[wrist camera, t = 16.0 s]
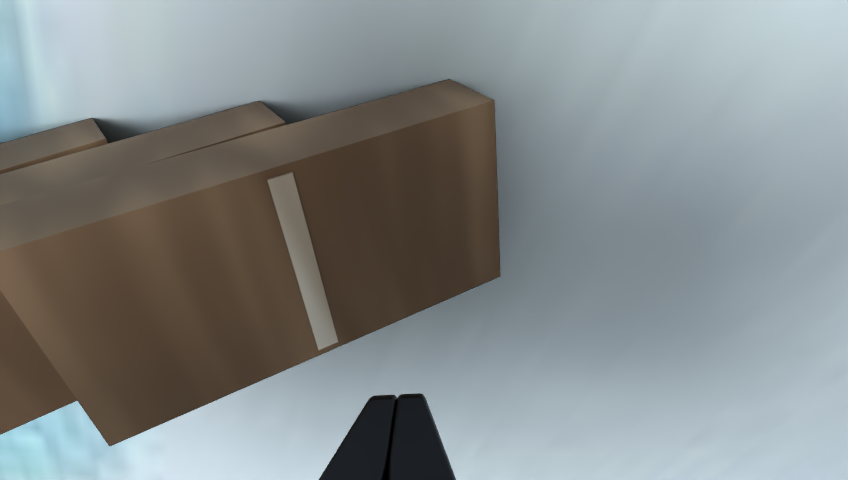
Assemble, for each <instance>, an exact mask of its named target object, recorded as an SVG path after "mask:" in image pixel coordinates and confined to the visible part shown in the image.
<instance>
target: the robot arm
mask: <svg viewBox="0 0 848 480" xmlns="http://www.w3.org/2000/svg"><path fill="white" fill-rule="evenodd" d="M319 480H456V478H455V476H454V473H453V470H452V468H451V465H450V462H449V460H448V457H447V454H446V452H445V449H444V446H443V444H442V441H441V438H440V436H439V433H438V430H437V428H436V425H435V422H434V420H433V417H432V414H431V412H430V409H429V406H428V404H427V401H426V399H425V396H424V395H423V394H420V393H418V394H402V395H400V396H399V397H398V398H397V397H396V396H395V395H379V396H373V397H371V398H370V399H369V400H368V402H367V403H366V405H365V406H364V408H363V409H362V411H361V413H360V414H359V416H358V417H357V419H356V421H355V422H354V424H353V426H352V427H351V429H350V430H349V432H348V434H347V435H346V437H345V438H344V440H343V442H342V443H341V445H340V446H339V448H338V450H337V451H336V453H335V454H334V456H333V458H332V459H331V461H330V463H329V464H328V466H327V467H326V469H325V471H324V472H323V474H322V475H321V477H320V479H319Z"/></svg>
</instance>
